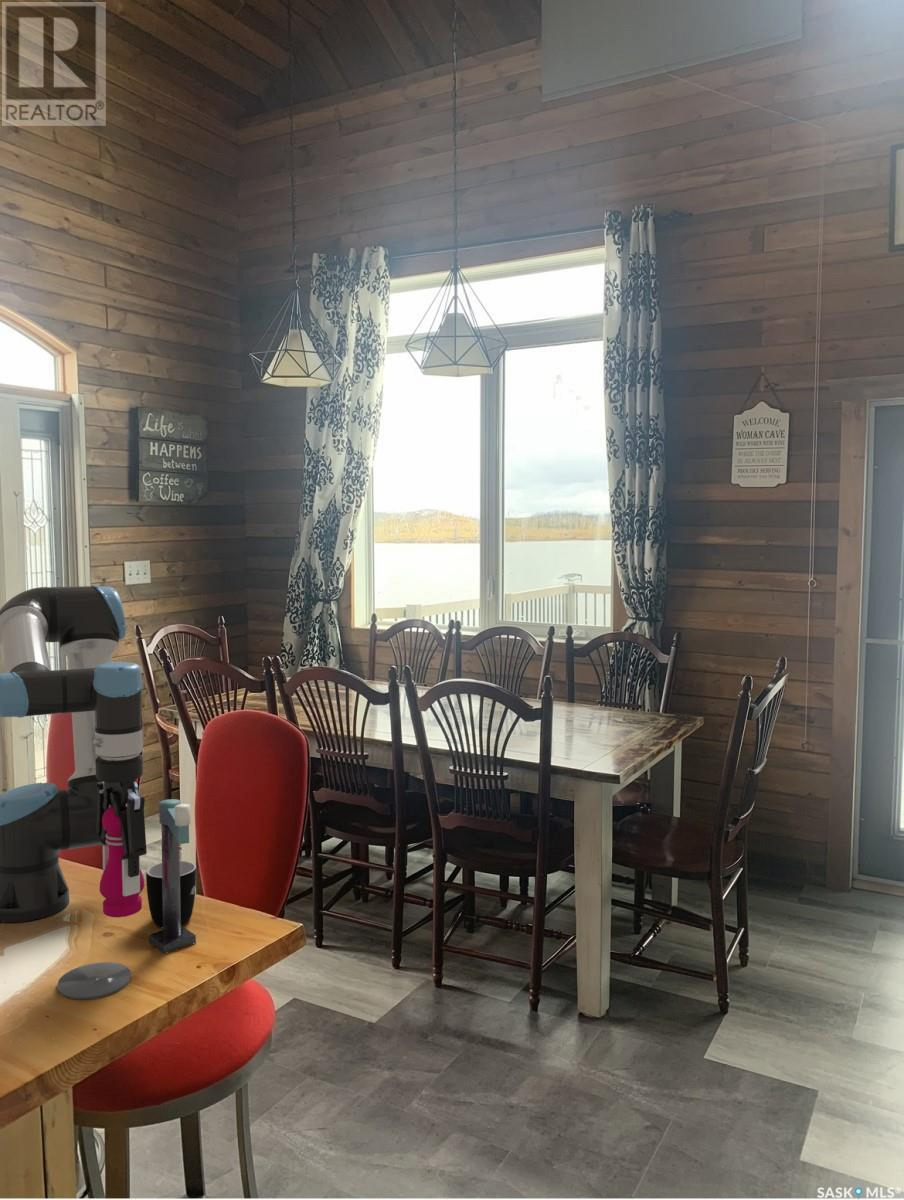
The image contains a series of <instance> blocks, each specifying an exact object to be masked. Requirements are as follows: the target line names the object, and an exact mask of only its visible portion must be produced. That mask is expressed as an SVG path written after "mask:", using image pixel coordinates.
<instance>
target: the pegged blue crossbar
mask: <svg viewBox="0 0 904 1200" xmlns="http://www.w3.org/2000/svg"><path fill="white" fill-rule="evenodd" d="M158 803H159V804H158V808H159V809H158V812H159V815H158V816H159V819H158V820H159V824H160V825H161V824H163V825H168V827H169V829H170V830H171V832H172V834H173V835H174V837H175V838H176V840H177V842H178V843H179V845H184V844H190V825H191V805H190V804H188V803H181V800H180V799H175V798H174V799H173V798H171V799H170V798H169V799H164V800H161V801H159V802H158Z"/></svg>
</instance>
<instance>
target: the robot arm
mask: <svg viewBox="0 0 904 1200" xmlns="http://www.w3.org/2000/svg"><path fill="white" fill-rule="evenodd" d="M126 631H127V627H126V617H125V612H124V607H123V603H122V599H121V597H120V595H119V592H118V591H117V590H116V589H115V588H114V587H112V586H99V585H98V586H97V585H90V586H89V585H88V586H82V585H81V586H51V587H49V586H41V587H39V586H38V587H35V588H34V587H33V588H29V589H26V590H24V591H22V592H20V593H18V594H16V595H15V596H13V597H12V598H10V599H9V600H7V601H6V602H5V604H4V605H3V606H1V608H0V644H1V646H2V656H3V665H4V672H3V673H0V717H1V718H25V717H35V716H45V715H56V714H68V713H69V714H71V720H72V722H71V723H72V737H73V755H74V756H73V757H74V769H75V770H74V772H73V774H72V775H71V776H70V777H69V778H68V779H67V789H61V790H60V789H59V788H58V786H57V785H56V784H55V783H53V782H48V781H47V782H36V783H30V784H29V783H28V784H25V785H21V786H17V787H14V788H11V789H9V790H7V791H5V792H3V793H1V794H0V921H5V922H4V923H21V922H28V921H34V920H39V919H43V918H46V917H48V916H51V915H54V914H57V913H58V912H60V911H62V910H64V909H65V908H66V907H67V906H68V905H69V903H70V889H69V886H68V884H67V881H66V878H65V876H64V873H63V870H62V868H61V865H60V861H59V852H60V851H65V850H73V849H78V848H79V849H81V848H88V847H94V846H102V873H103V872H104V870H105V868H106V865H107V862H108V858H109V845H108V844H107V843H106V836H105V835H106V834H107V833H108V832H107V831H106V830H105V829H104V828H103V825H102V817H103V814H104V812H105V811H106V810H107V809H108V808H109V807H110V806H113V807H114V812H115V816H116V817H117V818H120V823H121V828H120V830H121V836H122V842H123V848H124V854H125V856H121V859H122V887H123V896H124V897H125V896H128V895H132V894H136V893H139V892H140V869H141V868H140V867H141V866H140V865H141V864H140V863H141V862H140V859H141V858H140V856H144V855H147V850H148V849H147V840H146V839H147V837H146V823H145V822H146V821H145V804H146V803H145V802H146V801H145V796H144V795H140V796H139V785H138V783H137V779H140V778H141V777H142V776H143V774H144V756H143V755H142V754H141V753H142V752H143V750H144V744H143V743H144V742H143V741H144V738H143V737H144V736H143V732H144V731H143V723H142V721H143V719H142V716H143V714H142V708H143V706H142V705H143V704H142V703H143V702H142V701H143V699H142V695H143V694H142V693H143V692H142V691H143V680H142V670H141V667H140V665H139V664H137V663H135V662H128V661H114V660H113V654H114V652H115V651H116V650H118V648H119V647H120V641H122V640H123V639H125V637H126ZM46 643H59V651H60V652H61V653H62V654H63V655H65V656H66V657H67V658H68V669H53V670H52V667H51V662H50V658H49V653H48V648H47V644H46ZM124 810H127V811H126V812H121V811H124Z"/></svg>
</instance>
